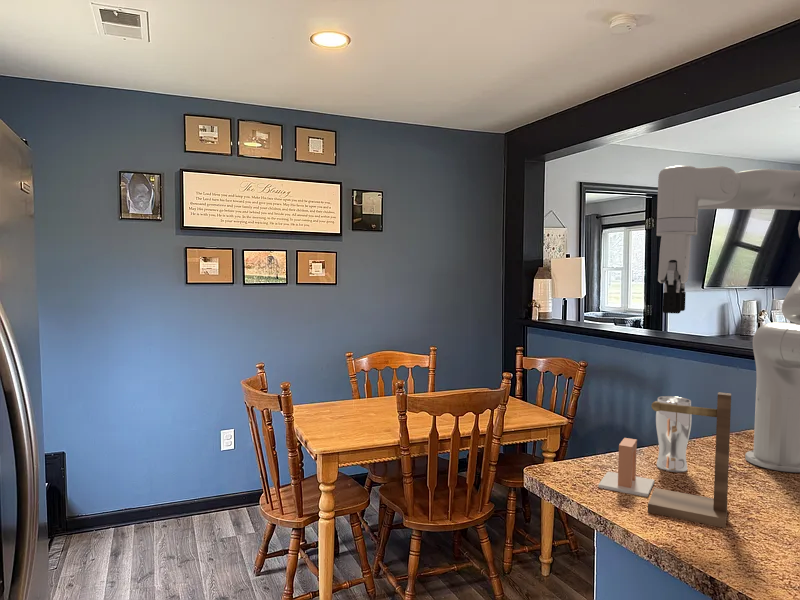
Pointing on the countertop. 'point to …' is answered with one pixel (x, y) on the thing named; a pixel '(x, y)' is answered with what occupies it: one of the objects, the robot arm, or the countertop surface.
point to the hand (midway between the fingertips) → (674, 311)
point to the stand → (715, 508)
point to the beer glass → (673, 435)
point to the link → (627, 462)
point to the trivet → (638, 487)
